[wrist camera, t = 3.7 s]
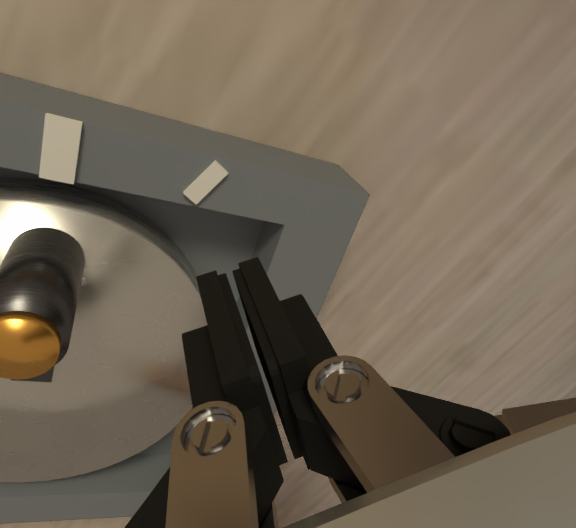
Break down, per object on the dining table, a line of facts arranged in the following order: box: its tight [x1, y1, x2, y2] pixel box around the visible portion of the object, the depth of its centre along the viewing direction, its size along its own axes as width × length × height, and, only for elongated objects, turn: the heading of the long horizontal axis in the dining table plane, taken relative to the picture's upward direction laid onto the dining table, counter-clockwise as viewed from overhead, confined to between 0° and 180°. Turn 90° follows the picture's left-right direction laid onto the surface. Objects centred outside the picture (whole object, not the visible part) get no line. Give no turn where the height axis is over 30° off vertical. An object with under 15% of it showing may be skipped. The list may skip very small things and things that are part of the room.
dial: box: [0, 179, 207, 483], centre depth 17 cm, size 14×14×7 cm
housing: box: [0, 73, 370, 524], centre depth 20 cm, size 22×20×4 cm
